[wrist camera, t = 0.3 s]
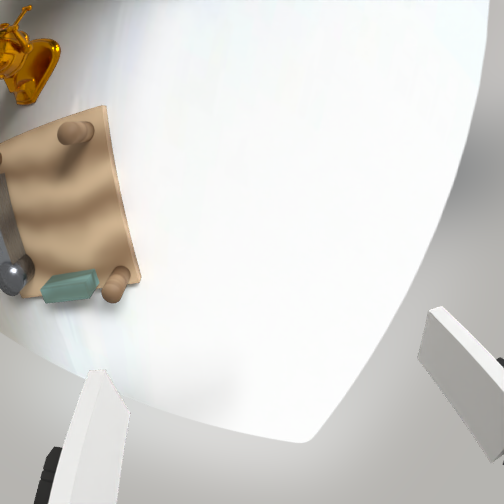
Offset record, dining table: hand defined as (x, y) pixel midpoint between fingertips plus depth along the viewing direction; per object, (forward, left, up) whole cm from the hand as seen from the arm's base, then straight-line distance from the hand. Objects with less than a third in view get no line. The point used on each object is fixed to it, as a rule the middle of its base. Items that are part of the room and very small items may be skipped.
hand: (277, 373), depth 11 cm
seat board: (-3, -23, -28) cm, 36 cm away
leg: (-2, -30, -26) cm, 40 cm away
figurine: (-23, -23, -28) cm, 43 cm away
